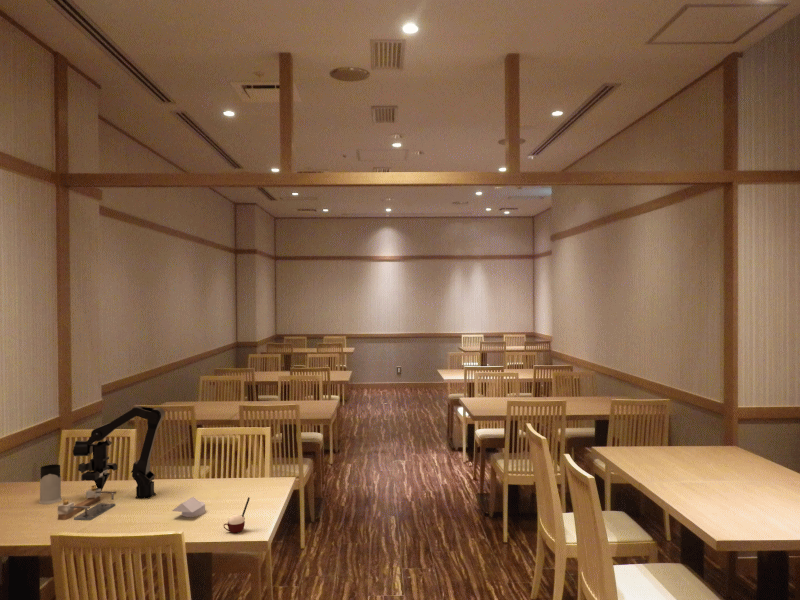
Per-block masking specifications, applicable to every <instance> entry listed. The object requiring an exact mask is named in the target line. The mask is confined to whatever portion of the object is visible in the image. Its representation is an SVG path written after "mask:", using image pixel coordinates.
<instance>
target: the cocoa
mask: <svg viewBox="0 0 800 600" xmlns="http://www.w3.org/2000/svg"><path fill="white" fill-rule="evenodd" d="M249 502H250V497H248V496H247V500H246V503H245V506H244V509H243V512H242V514H237V513H236V514H232V515H231V516H229V517H227V523H223V528H224V529H225V530H226V531H228V532H230V533H232V532H233V533H232V534H238V533H237V532H239V533H241V532H242V531H243V530H244V529H245V523H246V521H245V520H246V518H245V517H246V516H245V513H246V510H247V507H248V505H249ZM225 526H227V528H226V527H225ZM240 531H241V532H240Z"/></svg>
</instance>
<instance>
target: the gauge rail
mask: <svg viewBox="0 0 800 600" xmlns="http://www.w3.org/2000/svg"><path fill="white" fill-rule="evenodd" d="M100 498H101V495H100V496H98V497H97V498H86V499H84V500H82V501H81V502H80V501H79V502H78V503H77V504H75V502H69V499H62V503H60V504H58V505H57V520H59V521H60V520H61V521H62V520H63V521H65V520H68V519H70V518H71V517H73V516H75V515H76V514H79V513H80V512H82V511H84V512H85V516H87V510H88V509H90V507H91V506H93V505H94V504H97V503H98V502H99V501H101V499H100Z"/></svg>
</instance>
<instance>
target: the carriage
mask: <svg viewBox="0 0 800 600" xmlns="http://www.w3.org/2000/svg"><path fill="white" fill-rule="evenodd" d="M85 493H86V494H85V495H86V496H85V497H86V499H88V498H97V497H98V496H100V497H101V496H102V494H111V496H110V497H111V498H110V499H111V500H114V499H115V498H114V497H115V494H116V493H117V491H105V490H104V491H103V490H102V491H101V488H97V486H96V484H95V485H91V488H90V489H88V490H86V492H85Z"/></svg>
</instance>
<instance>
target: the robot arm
mask: <svg viewBox="0 0 800 600" xmlns="http://www.w3.org/2000/svg"><path fill="white" fill-rule="evenodd" d="M165 415H166V411H165V410H164V408H162V407H155V408H154V407H148V406H141V405H136V406H134V407H133V408H131V409H130V410H129V411H127V412H125V413H124V414H121V415H120V416H119V417H117V418H116V419H114V420H112V421H110V422H107V423H105V424H103V425H100V426H98V427H96V428H93V430H92V431H91V432H90V437H89V438H88V439H87V440H80V439H78V440H76V441H74V442H75V443H74V446H73V449H72V455H73V457H90V455H92V458H90V460H89V462H86V463H85V462H81V463H79V464H78V467H77V471H79V472H80V473H81V481H93V482H94V483H95V485H96V488H101V491H103V489H104V487H105V484H106V482H107V481H108V478H109V477H110V475H111V472H108V470H109V471H110V470H112V471H117V470H118V464H117V463H116V462H108V460H110V456H108V446H111V445H112V444H113V442H112V441H111V440H109V439H106V438H107V437H109V436H110V435H111V434H112V433H113V432H114V431H115V430H117V428H119V427H121V426H123V425H125V424H126V423H127V422H129V421H130V420H132V419H134V418H135V417H138V418H141V419H144V420H147V421H146V422H147V430H146V432H145V437H144V441H143V444H142V449H141V452H140V453H141V454H140V456H139V460H136V461H135V462H134V463H133V464H132V469H131V471H130V473H131V477H132V479H133V480H134V481H135V483H136V487H135V489H136V491H135V492H136V496H135V498H134V499H151V498H153V497H154V496H155V495H157V492H155V481H154V480H155V477H156V474H155V473H153V472H152V470H151V456H152V452H153V449H154V444H155V441H156V437H157V435H158V430H159V427H160V426H161V424H162V423H163V420H164V418H165ZM104 439H105V440H104Z"/></svg>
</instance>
